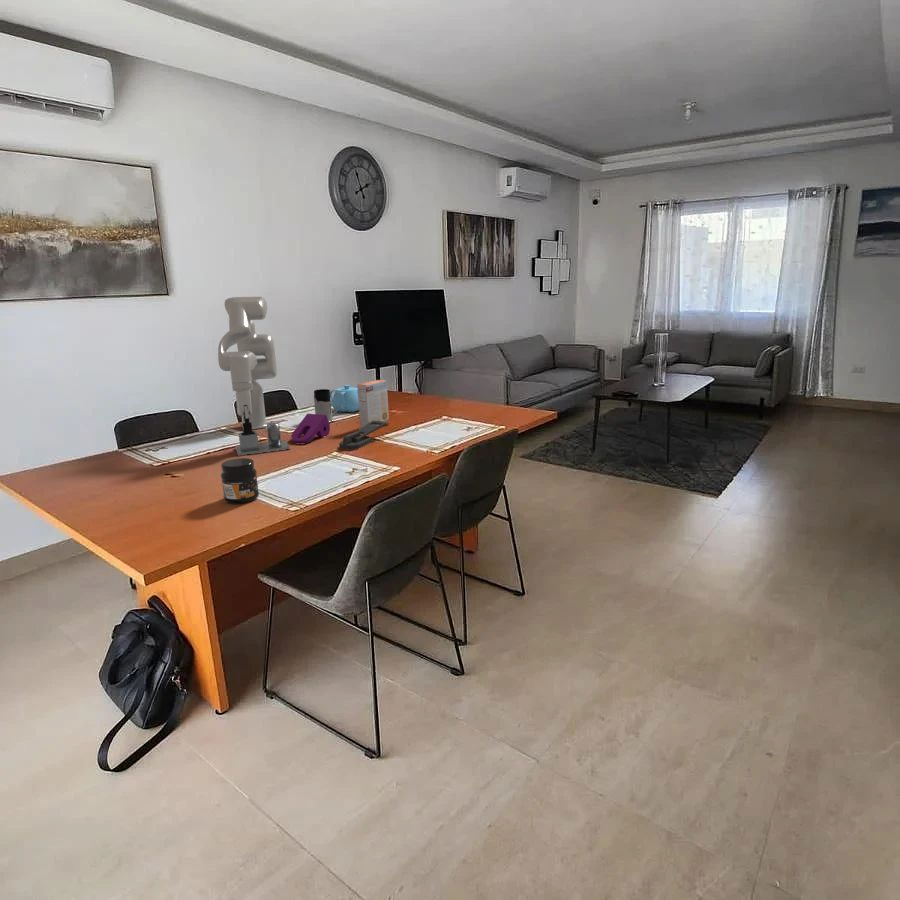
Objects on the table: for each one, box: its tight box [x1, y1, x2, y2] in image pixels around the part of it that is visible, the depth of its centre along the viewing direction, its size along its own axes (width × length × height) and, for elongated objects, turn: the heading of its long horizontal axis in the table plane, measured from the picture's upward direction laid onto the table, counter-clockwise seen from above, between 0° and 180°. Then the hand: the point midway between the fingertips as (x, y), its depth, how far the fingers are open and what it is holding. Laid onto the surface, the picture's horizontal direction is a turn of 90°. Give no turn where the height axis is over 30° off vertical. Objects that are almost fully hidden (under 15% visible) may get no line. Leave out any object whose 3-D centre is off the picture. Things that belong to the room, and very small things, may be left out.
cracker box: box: [356, 379, 390, 429], centre depth 273 cm, size 14×6×21 cm, turn 144°
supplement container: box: [220, 457, 260, 505], centre depth 185 cm, size 10×10×12 cm
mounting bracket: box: [290, 413, 331, 444], centre depth 257 cm, size 9×8×18 cm
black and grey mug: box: [313, 388, 343, 423], centre depth 287 cm, size 9×14×15 cm, turn 96°
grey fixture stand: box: [234, 422, 291, 457], centre depth 241 cm, size 12×20×10 cm, turn 114°
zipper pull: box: [338, 421, 388, 451], centre depth 249 cm, size 9×7×25 cm
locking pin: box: [240, 413, 252, 435], centre depth 237 cm, size 3×3×10 cm
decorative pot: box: [330, 384, 359, 414], centre depth 310 cm, size 16×16×14 cm
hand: (247, 431), depth 238 cm, fingers closed on locking pin, 3 cm apart
